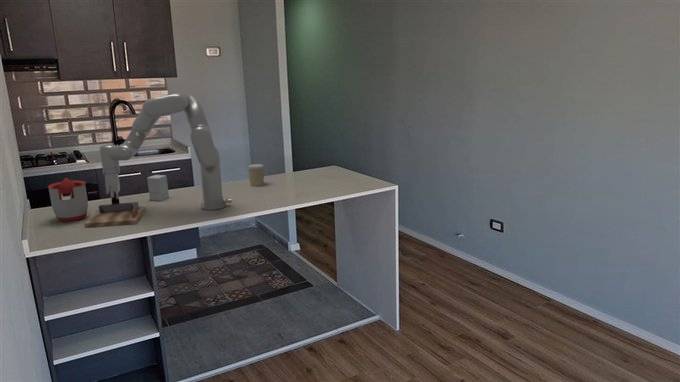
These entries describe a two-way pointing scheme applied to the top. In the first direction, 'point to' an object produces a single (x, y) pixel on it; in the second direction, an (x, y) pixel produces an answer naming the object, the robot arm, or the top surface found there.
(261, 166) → the coffee cup
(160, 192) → the supplement box
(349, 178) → the top surface
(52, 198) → the citrus juicer
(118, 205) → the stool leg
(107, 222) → the flat wooden plank
